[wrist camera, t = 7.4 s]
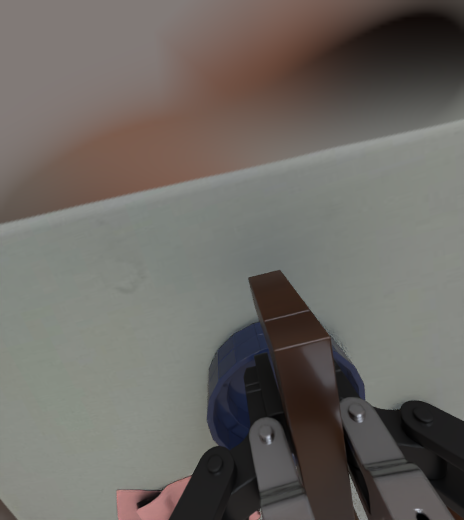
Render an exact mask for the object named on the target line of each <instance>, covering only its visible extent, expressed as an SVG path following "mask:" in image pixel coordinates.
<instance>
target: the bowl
mask: <svg viewBox="0 0 464 520" xmlns="http://www.w3.org/2000/svg"><path fill="white" fill-rule="evenodd" d="M329 336H330V335H329ZM330 337H331V336H330ZM331 343H332V351H333V358H334V360H335V361H336V363H337V365H338V366H339V367H340V369H341V371H342V372H343V373H344V375H345V376H346V377H347V379H348V380H349V382H350V383H351V385H352V386H353V388H354V389H355V391H356V392H357V394H358V395H359V397H360V398H361V399H363V400H365V389H364V383H363V381H362V379H361V377H360V375H359V373H358V371H357V370H356V368H355V366H354V365H353V363H352V362H351V361H350V360H349V358H348V357H347V356H346V354H345V353H344V352H343V351H342V349H341V348H340V347H339V345H338V344H337V343H336V341H335V340H334V339H333V338H332V337H331ZM266 352H267V354H268V358H269V361H270V364H271V367H272V371H273V374H274V377H275V380H276V384H277V379H276V375H275V371H274V366H273V362H272V358H271V355H270V352H269V349H268V346H267V343H266V340H265V337H264V333H263V330H262V327H261V324H260V322H257V323H254V324H251V325H249V326H248V327H246V328H244V329H242V330H240V331H238V332H237V333H235V334H233V335H232V336H231V337H230V338H229V339H228V340H227V341H226V342H225V343H224V344H223V345H222V346H221V347H220V348H219V350H218V351H217V353H216V355H215V357H214V359H213V361H212V363H211V365H210V368H209V377H208V395H207V423H208V426H209V429H210V432H211V435H212V438H213V440H214V441H215V442H216V443H217V444H218V445H219V446H223V447H226V448H227V449H229V450H231V449H232V448H234V447H235V446H237V445H238V444H240V443H241V442H242V441H243V440H244V439H245V438H246V436H247V435H248V432H249V429H250V418H249V411H248V405H247V398H246V391H245V384H244V377H243V376H244V373H245V370H246V368H249V367H253V366H256V364H255V359H254V355H257V354H261V353H266ZM277 387H278V384H277ZM278 390H279V388H278ZM292 457H293V460H294V463H295V459H294V455H293V454H292ZM295 466H296V463H295Z"/></svg>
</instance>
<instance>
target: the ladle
mask: <svg viewBox="0 0 464 520" xmlns="http://www.w3.org/2000/svg"><path fill="white" fill-rule="evenodd" d="M248 280H249V284H250V288H251V292H252V297H253V301H254V305H255V309H256V312H257V315H258V318H259V321H260V324H261V327H262V330H263V333H264V337H265V340H266V343H267V346H268V349H269V352H270V355H271V358H272V362H273V366H274V371H275V375H276V379H277V384H278V388H279V393H280V397H281V402H282V406H283V410H284V414H285V419H286V423H287V428H288V432H289V436H290V441H291V445H292V450H293V455H294V459H295V463H296V468H297V472H298V475H299V478H300V481H301V483H302V485H303V486H304V489H305V491H306V494H307V497H308V500H309V503H310V506H311V509H312V512H313V515H314V518H315V520H359V518H358V516H357V513H356V511H355V509H354V506H353V501H352V493H351V486H350V478H349V471H348V463H347V456H346V448H345V441H344V433H343V426H342V418H341V411H340V403H339V396H338V388H337V381H336V373H335V366H334V358H333V351H332V343H331V337H330V336H329V334H328V333H327V332H326V330H325V329H324V328H323V326H322V325H321V324H320V322H319V321H318V320H317V318H316V317H315V316H314V314H313V313H312V312H311V310H310V309H309V308H308V306H307V305H306V304H305V302H304V301H303V300H302V298H301V297H300V296H299V294H298V293H297V292H296V290H295V289H294V288H293V286H292V285H291V284H290V282H289V281H288V280H287V278H286V277H285V276H284V274H283V273H282V272H281V270H277V271H273V272H269V273H265V274H261V275H257V276H253V277H249V278H248Z"/></svg>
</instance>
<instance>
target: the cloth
mask: <svg viewBox="0 0 464 520" xmlns="http://www.w3.org/2000/svg"><path fill="white" fill-rule="evenodd" d="M190 478H191V476H190V477H187V478H184V479H182V480H179V481H176V482H174V483H172V484H169V485H167V486H166V488H165V489H164V490H163V491H144V490H117V509H118V520H169V518H170V516H171V514H172V512H173V510H174V508H175V506H176V505H177V503H178V501H179V499H180V497H181V495H182V493H183V491H184V489H185V487H186V486H187V484H188V482H189V480H190ZM260 517H261V514H260V512H258V511H256V512H255V513H253V514H252V515H251V516H250V517H249V520H257V519H258V518H260Z"/></svg>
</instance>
